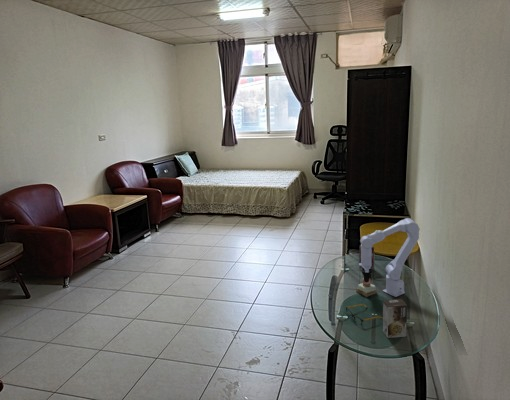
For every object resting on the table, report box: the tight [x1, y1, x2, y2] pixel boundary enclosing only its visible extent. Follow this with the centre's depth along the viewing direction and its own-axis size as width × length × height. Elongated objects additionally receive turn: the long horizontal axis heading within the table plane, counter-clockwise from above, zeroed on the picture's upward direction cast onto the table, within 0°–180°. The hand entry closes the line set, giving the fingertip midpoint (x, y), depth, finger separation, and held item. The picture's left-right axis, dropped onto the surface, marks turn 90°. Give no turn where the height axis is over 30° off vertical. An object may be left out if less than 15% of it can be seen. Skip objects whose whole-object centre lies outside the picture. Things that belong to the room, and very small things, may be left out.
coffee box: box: [382, 298, 408, 339], centre depth 177 cm, size 9×6×16 cm
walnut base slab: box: [356, 287, 378, 298], centre depth 221 cm, size 8×8×2 cm
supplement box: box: [358, 244, 375, 271], centre depth 252 cm, size 9×5×16 cm, turn 89°
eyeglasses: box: [345, 303, 383, 326], centre depth 195 cm, size 14×14×4 cm
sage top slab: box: [357, 282, 377, 293], centre depth 220 cm, size 7×7×2 cm
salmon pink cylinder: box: [362, 277, 372, 287], centre depth 220 cm, size 4×4×4 cm
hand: (366, 279), depth 219 cm, fingers open, 7 cm apart
